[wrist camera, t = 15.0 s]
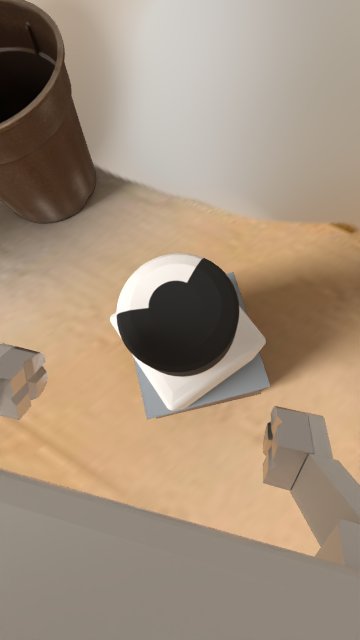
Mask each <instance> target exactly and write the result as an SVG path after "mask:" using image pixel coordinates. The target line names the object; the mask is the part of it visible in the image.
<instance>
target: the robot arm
mask: <svg viewBox="0 0 360 640" xmlns="http://www.w3.org/2000/svg"><path fill="white" fill-rule="evenodd" d="M44 363H45V358H44V354H42V353H40V352H36V351H32V350H28V349H24V348H20V347H17V346H16V347H15V346H11V345H7V344H4V343H3V344H0V416H4V417H8V418H13V419H17V420H20V419H21V418H22V416H23V415H24V414H25V413H26V412H27V410H28V409H29V408H30V407H31V400H33V399H35V398H37V397H39V396H40V395H41V393H42V392H43V390H44V388H45V386H46V383H47V372H46V370H45V369H44V368H43V366H42V365H43V364H44ZM263 453H264V454H265V456H266V458H265V460H264V463H263V483H265V484H268V485H272V486H275V487H279V488H282V489H286V490H289V491H291V494H292V496H293V498H294V500H295V501H296V503H297V505H298V507H299V509H300V510H301V512H302V514H303V516H304V518H305V519H306V521H307V523H308V525H309V527H310V528H311V530H312V532H313V534H314V536H315V537H316V539H317V541H318V543H319V545H320V546H321V548H320V550H319V551H318V553H317V554H316V556H315V557H313V556H310V555H306V554H302V553H299V552H295V551H292V550H288V549H285V548H281V547H278V546H274V545H270V544H267V543H263V542H260V541H256V540H253V539H249V538H246V537H242V536H238V535H235V534H231V533H228V532H224V531H221V530H217V529H214V528H210V527H206V526H203V525H199V524H196V523H192V522H189V521H185V520H181V519H178V518H174V517H171V516H167V515H164V514H160V513H156V512H153V511H149V510H146V509H142V508H139V507H135V506H131V505H128V504H124V503H121V502H117V501H114V500H110V499H106V498H103V497H99V496H96V495H92V494H89V493H85V492H82V491H78V490H75V489H71V488H68V487H64V486H60V485H57V484H53V483H50V482H46V481H43V480H39V479H36V478H32V477H29V476H25V475H21V474H18V473H14V472H11V471H7V470H4V469H0V640H360V485H359V484H358V483H357V482H356V480H355V479H354V478H353V477H352V476H351V475H350V473H349V472H348V471H347V470H346V469H345V468H344V467H343V465H342V464H341V463H340V462H339V461H338V460H334V459H333V455H332V451H331V446H330V442H329V437H328V433H327V428H326V423H325V419H324V417H323V416H320V415H315V414H311V413H305V412H301V411H296V410H291V409H287V408H282V407H278V406H274V408H273V410H272V413H271V422H270V423H268V424H267V427H266V430H265V435H264V441H263Z"/></svg>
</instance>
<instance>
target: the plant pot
mask: <svg viewBox="0 0 360 640" xmlns="http://www.w3.org/2000/svg"><path fill="white" fill-rule="evenodd" d="M64 55H65V53H64V44H63V40H62V36H61V33H60V31H59V29H58V27H57V25H56V23H55V22H54V21H53V19H52V18H51V17H50V16H49V15H48V14H47V13H46V12H44V11H43V10H42V9H40V8H39V7H37V6H36V5H34V4H32V3H30V2H27V1H25V0H0V200H1V201H2V202H3V203H5V204H6V205H7V206H8V207H9V208H11V209H12V210H13V211H14V212H15V213H16V214H18V215H19V216H21V217H23V218H25V219H27V220H30V221H32V222H35V223H52V222H57V221H61V220H63V219H66V218H68V217H70V216H72V215H74V214H75V213H77V212H78V211H79V210H80V209H82V208H83V207H84V205H85V202H86V200H87V198H88V197H89V196H90V195H91V194H92V193H93V191H94V188H95V182H96V175H95V168H94V165H93V162H92V159H91V157H90V154H89V150H88V147H87V144H86V141H85V138H84V135H83V132H82V129H81V126H80V122H79V119H78V116H77V113H76V109H75V106H74V103H73V100H72V96H71V83H70V79H69V76H68V73H67V70H66V66H65V63H64Z"/></svg>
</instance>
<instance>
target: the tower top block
mask: <svg viewBox="0 0 360 640" xmlns="http://www.w3.org/2000/svg"><path fill="white" fill-rule="evenodd" d="M226 275H227V276H228V277H229V279H230V280H231V282H232V284H233V285H234V288H235V290H236V293H237V296H238V300H239V306H240V307H241V309H242V310H243V311H244V312H245V314H246V315H247V312H246V309H245V306H244V303H243V300H242V297H241V294H240V291H239V288H238V284H237V281H236V278H235V275H234V272H232V273H228V274H226ZM247 316H248V315H247ZM134 361H135V366H136V371H137V375H138V380H139V384H140V389H141V393H142V398H143V403H144V407H145V412H146V416H147V419H151V418H156V417H160V416H163V415H167V414H171V413H175V412H178V411H182V410H186V409H190V408H193V407H197V406H201V405H205V404H208V403H212V402H216V401H220V400H224V399H227V398H231V397H235V396H239V395H242V394H246V393H250V392H254V391H257V390H261V389H264V388H268V387H271V386H270V383H269V380H268V377H267V374H266V371H265V368H264V365H263V362H262V358H261V355H260V352H258V353H257V355H256V356H255V357H254V358H253V360H251V361H250V362H248V363H247V364H246V365H244V366H243V367H242V368H240V369H239V370H237V371H236V372H235V373H233V374H232V375H231V376H229V377H228V378H226V379H225V380H224V381H222V382H221V383H220V384H218V385H217V386H215V387H214V388H213V389H211V390H210V391H209V392H207V393H206V394H204V395H203V396H202V397H200V398H199V399H198V400H196V401H195V402H193V403H192V404H191V405H189V406H188V407H186V408H184V409H179V410H174V411H172V410H169V409H168V408H167V407H166V405H165V404H164V402H163V401H162V399H161V398H160V396H159V395H158V393H157V392H156V390H155V389H154V387H153V386H152V384H151V383H150V381H149V380H148V378H147V377H146V375H145V374H144V372H143V371H142V369H141V367H140V366H139V364H138V363H137V361H136V360H135V358H134Z"/></svg>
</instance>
